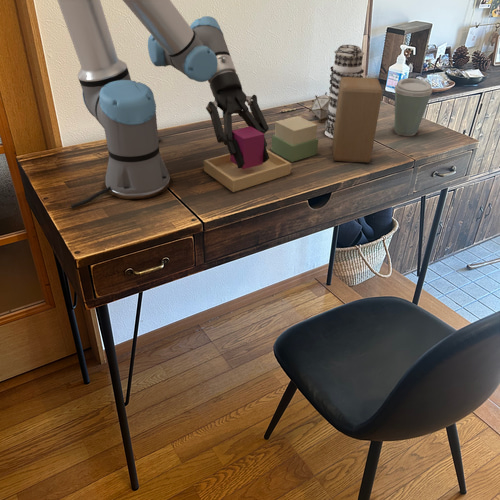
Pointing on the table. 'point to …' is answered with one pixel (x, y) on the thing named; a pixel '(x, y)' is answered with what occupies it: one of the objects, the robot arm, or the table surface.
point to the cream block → (295, 130)
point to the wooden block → (356, 119)
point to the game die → (321, 106)
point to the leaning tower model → (344, 66)
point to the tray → (245, 171)
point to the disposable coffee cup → (410, 105)
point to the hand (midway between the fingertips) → (253, 163)
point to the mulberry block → (249, 146)
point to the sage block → (294, 149)
